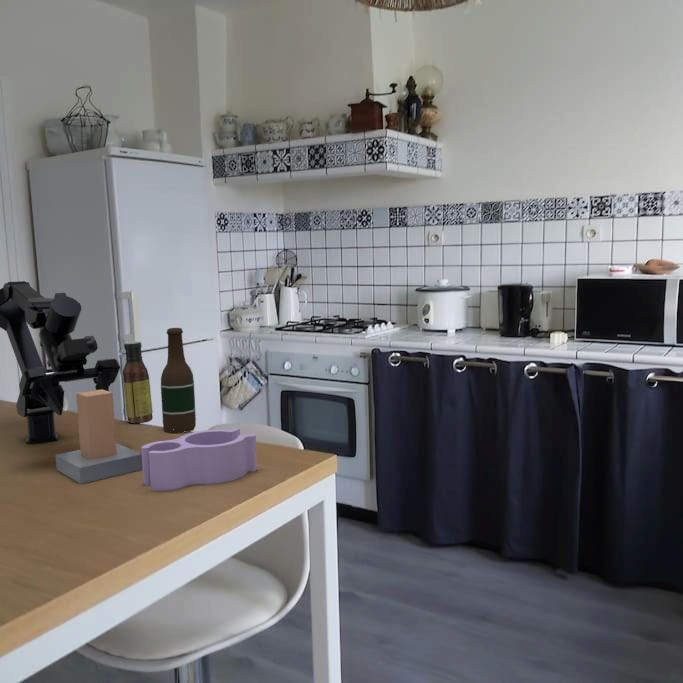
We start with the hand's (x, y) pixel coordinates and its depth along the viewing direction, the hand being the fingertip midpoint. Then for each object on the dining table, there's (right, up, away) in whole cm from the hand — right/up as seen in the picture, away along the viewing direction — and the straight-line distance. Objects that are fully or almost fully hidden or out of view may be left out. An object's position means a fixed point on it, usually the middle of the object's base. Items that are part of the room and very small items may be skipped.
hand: (84, 410), depth 135 cm
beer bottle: (+12, -7, +27) cm, 31 cm away
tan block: (+4, -8, -3) cm, 10 cm away
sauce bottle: (0, -7, +36) cm, 37 cm away
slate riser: (+4, -11, -3) cm, 12 cm away
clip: (+24, -12, -8) cm, 28 cm away
